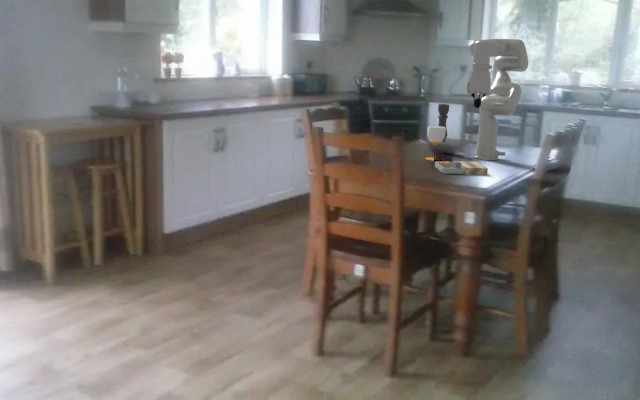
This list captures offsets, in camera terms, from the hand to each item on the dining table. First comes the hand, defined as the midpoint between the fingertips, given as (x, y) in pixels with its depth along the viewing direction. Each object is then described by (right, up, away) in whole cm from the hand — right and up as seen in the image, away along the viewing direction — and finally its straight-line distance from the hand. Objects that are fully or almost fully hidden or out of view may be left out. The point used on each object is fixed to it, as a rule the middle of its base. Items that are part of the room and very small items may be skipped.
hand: (476, 107), depth 317 cm
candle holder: (-11, -18, +38) cm, 44 cm away
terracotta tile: (-17, -26, -9) cm, 32 cm away
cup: (-18, -24, +15) cm, 33 cm away
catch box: (-15, -30, -12) cm, 36 cm away
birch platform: (-5, -30, -11) cm, 33 cm away
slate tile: (-12, -29, -17) cm, 35 cm away
